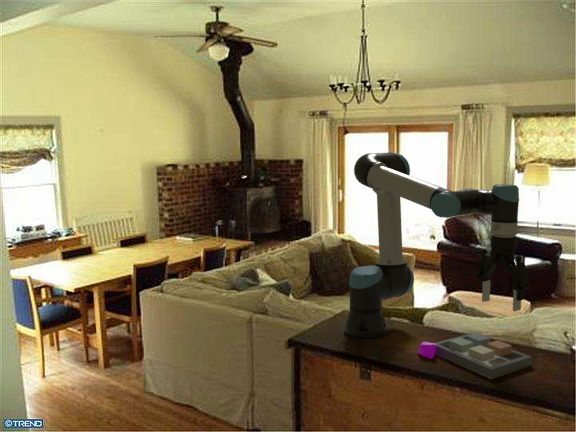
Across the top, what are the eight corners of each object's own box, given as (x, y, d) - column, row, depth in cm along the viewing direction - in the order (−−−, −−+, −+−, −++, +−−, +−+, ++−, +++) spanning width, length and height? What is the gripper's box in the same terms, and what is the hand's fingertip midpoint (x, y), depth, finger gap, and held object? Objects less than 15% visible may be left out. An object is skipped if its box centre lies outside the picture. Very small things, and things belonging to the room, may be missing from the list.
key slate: (466, 343, 178) (466, 335, 177) (477, 340, 180) (477, 333, 180) (479, 348, 173) (479, 340, 173) (490, 345, 176) (490, 337, 176)
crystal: (433, 352, 178) (433, 339, 177) (437, 359, 172) (437, 345, 172) (417, 352, 178) (417, 339, 177) (421, 359, 172) (421, 345, 172)
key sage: (449, 347, 174) (449, 340, 174) (460, 344, 176) (460, 337, 176) (461, 353, 169) (461, 345, 169) (473, 350, 172) (473, 342, 172)
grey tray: (431, 352, 178) (431, 343, 177) (469, 341, 187) (470, 333, 186) (491, 379, 157) (491, 369, 157) (531, 366, 166) (531, 356, 165)
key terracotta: (486, 351, 171) (486, 343, 171) (497, 347, 173) (497, 340, 173) (500, 356, 166) (500, 348, 166) (511, 353, 169) (511, 345, 169)
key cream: (468, 356, 167) (468, 348, 167) (480, 352, 170) (480, 345, 169) (482, 362, 162) (482, 354, 162) (494, 358, 165) (494, 350, 165)
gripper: (465, 231, 173) (463, 298, 176) (529, 242, 153) (525, 317, 156) (481, 229, 177) (479, 294, 180) (546, 239, 157) (542, 313, 160)
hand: (500, 305), depth 168 cm, fingers open, 11 cm apart
